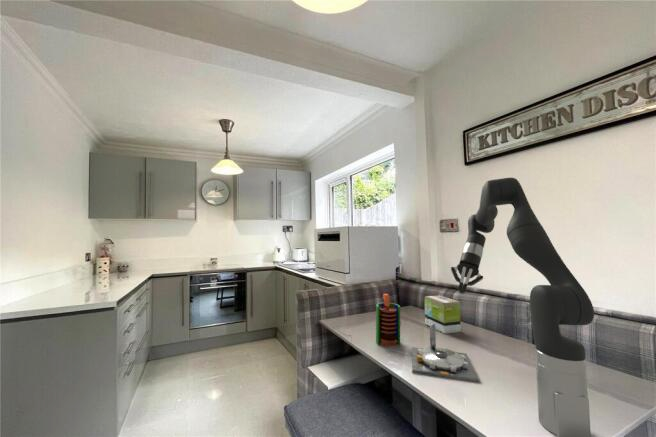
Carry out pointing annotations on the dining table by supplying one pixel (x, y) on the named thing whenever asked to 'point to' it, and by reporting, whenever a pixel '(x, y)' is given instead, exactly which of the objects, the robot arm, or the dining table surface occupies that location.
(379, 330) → the motor
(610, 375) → the dining table surface
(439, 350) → the sprocket
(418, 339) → the dining table surface
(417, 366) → the base plate
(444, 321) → the tea box
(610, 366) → the dining table surface
